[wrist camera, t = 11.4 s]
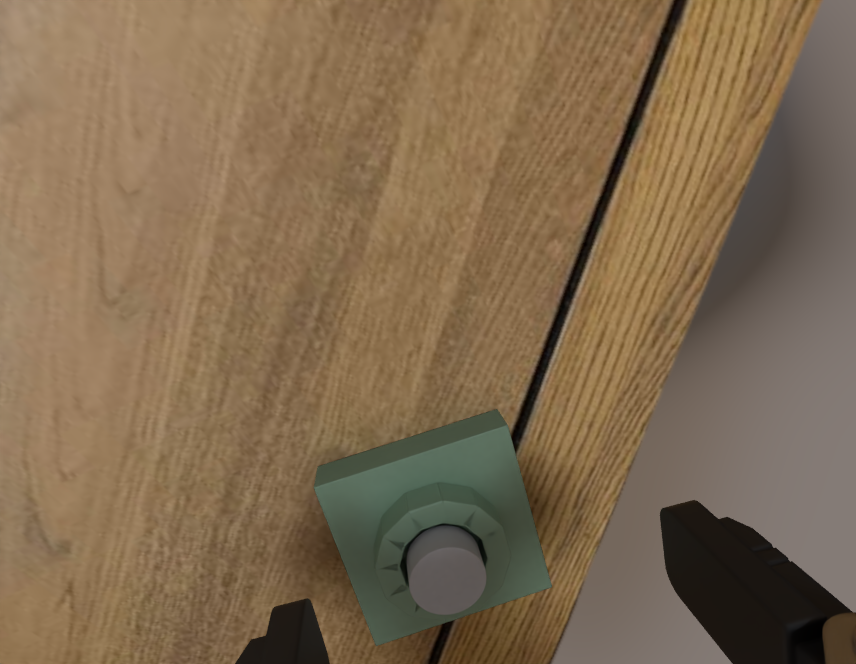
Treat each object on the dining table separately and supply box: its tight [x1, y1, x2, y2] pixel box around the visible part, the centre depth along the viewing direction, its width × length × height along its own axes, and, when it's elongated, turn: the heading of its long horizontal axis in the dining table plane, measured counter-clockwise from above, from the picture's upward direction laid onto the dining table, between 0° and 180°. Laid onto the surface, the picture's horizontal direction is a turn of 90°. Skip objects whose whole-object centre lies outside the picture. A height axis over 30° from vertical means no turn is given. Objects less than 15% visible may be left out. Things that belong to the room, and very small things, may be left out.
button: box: [406, 525, 487, 615], centre depth 25 cm, size 4×4×2 cm
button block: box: [314, 409, 552, 646], centre depth 28 cm, size 10×10×4 cm
